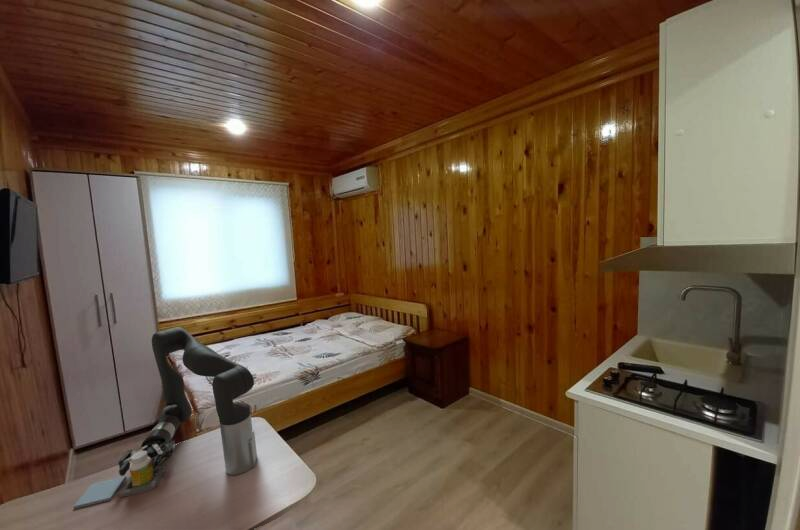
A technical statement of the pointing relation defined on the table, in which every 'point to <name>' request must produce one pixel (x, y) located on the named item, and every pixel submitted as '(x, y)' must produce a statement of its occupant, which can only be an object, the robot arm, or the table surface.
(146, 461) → the supplement bottle
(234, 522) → the table surface
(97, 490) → the board
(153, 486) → the collar
